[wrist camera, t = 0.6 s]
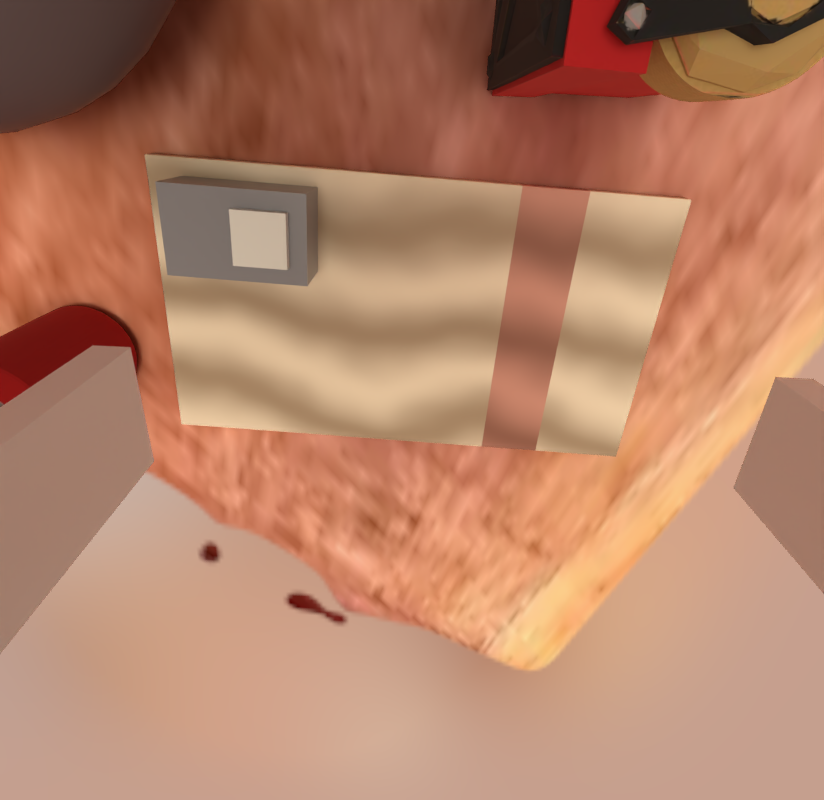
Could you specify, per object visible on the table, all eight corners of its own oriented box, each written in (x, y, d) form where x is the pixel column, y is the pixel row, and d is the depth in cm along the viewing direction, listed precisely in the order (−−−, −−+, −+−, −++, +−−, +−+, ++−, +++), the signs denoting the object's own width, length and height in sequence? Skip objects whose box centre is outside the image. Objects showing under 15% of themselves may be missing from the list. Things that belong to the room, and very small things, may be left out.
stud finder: (181, 175, 32) (150, 182, 28) (317, 186, 32) (304, 195, 28) (190, 261, 34) (163, 277, 30) (317, 271, 34) (305, 289, 31)
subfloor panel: (153, 153, 32) (144, 154, 31) (682, 197, 33) (691, 199, 32) (187, 416, 41) (181, 424, 40) (610, 447, 41) (615, 456, 40)
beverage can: (26, 313, 37) (-135, 389, 26) (115, 291, 36) (-13, 361, 26) (75, 398, 40) (-51, 498, 29) (159, 380, 39) (60, 476, 29)
